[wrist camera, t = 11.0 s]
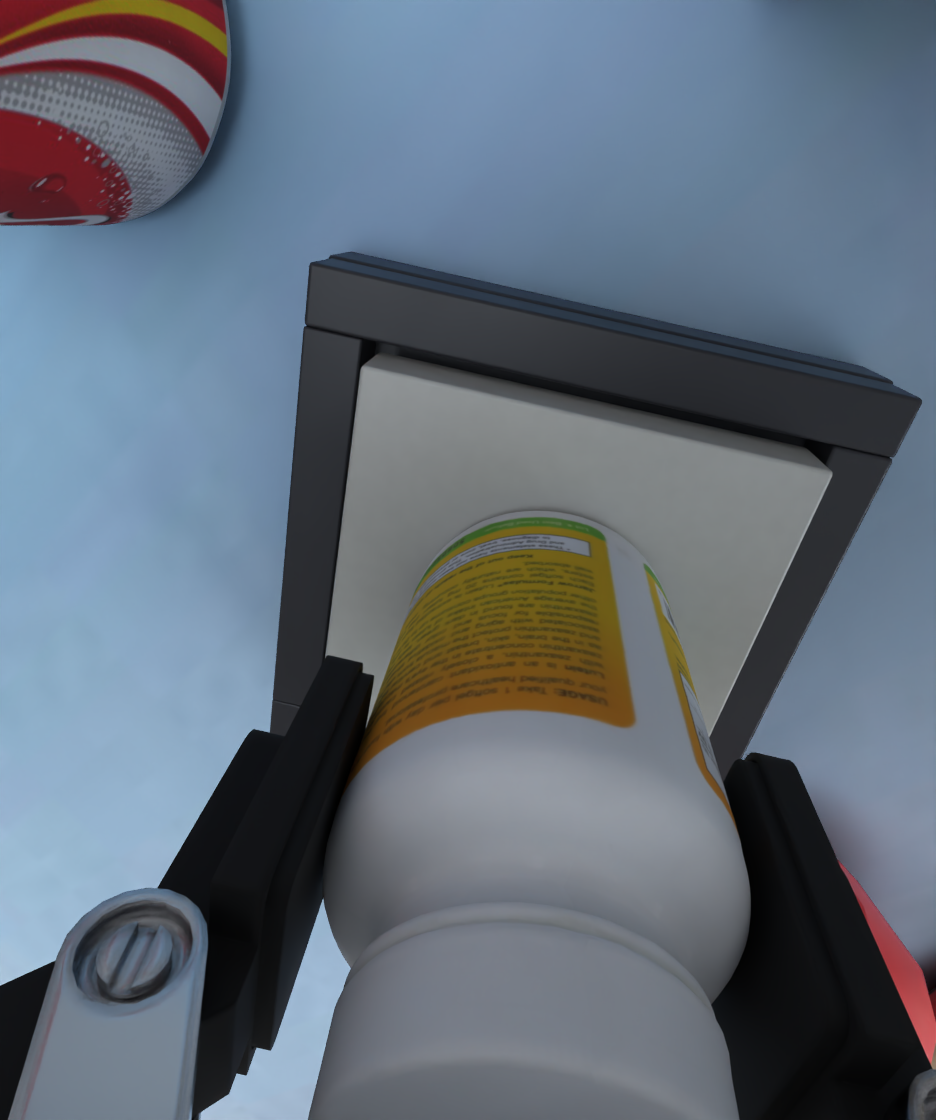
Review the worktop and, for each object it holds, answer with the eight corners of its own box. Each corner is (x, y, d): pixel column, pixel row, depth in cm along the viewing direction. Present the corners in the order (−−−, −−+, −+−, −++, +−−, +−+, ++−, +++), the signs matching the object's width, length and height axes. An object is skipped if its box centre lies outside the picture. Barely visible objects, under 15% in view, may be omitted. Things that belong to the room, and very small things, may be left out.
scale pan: (808, 447, 14) (836, 472, 13) (665, 769, 18) (674, 814, 17) (378, 350, 14) (359, 365, 13) (333, 692, 18) (315, 731, 17)
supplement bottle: (367, 633, 15) (133, 1165, 7) (514, 449, 13) (442, 895, 5) (556, 757, 16) (562, 1360, 8) (723, 604, 14) (994, 1215, 6)
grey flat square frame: (865, 366, 16) (929, 398, 13) (685, 758, 21) (704, 836, 18) (347, 250, 16) (306, 257, 13) (303, 670, 21) (267, 735, 19)
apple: (878, 934, 24) (1019, 1246, 16) (644, 961, 25) (679, 1251, 18) (849, 759, 20) (1009, 1050, 13) (586, 805, 22) (601, 1080, 15)
